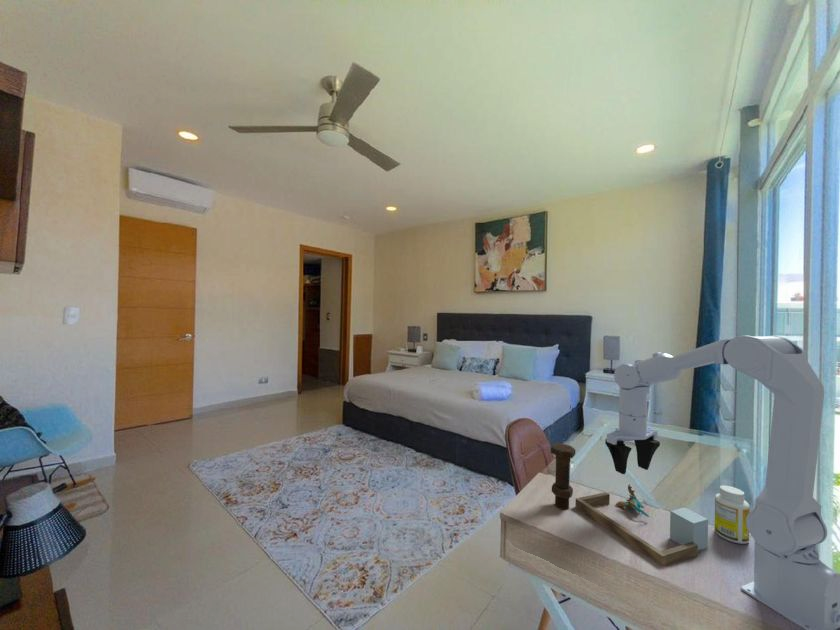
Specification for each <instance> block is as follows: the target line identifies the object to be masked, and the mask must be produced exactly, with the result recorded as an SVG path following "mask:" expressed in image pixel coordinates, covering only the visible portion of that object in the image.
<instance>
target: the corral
mask: <svg viewBox="0 0 840 630" xmlns="http://www.w3.org/2000/svg"><path fill="white" fill-rule="evenodd" d="M607 505H610V493H608V492H607V491H606V492H605V491H604V492H601V493H595V494H592V495H590V494H589V495H586V496H582V497H575V508H576V509H577V510H579V511H580V512H582V513H583V514H585V515H586V516H588V517H589V518H590V519H592V520H593V521H595V522H597V524H599V525H601V526H602V525H603V526H602V527H604V528H606V529H607V530H608V531H610V532H612V533H613V534H614V535H616V536H617V537H619V538H620V539H622V540H623V541H624V542H626V543H628V544H629V545H631V546H632V547H633V548H635V549H637V550H638V551H640V552H641V553H643V554H644V555H646V556H647V557H649V558H650V559H652V560H653V561H654V562H656V563H657V564H659V565H660V566H662V567H664V566H667V565H668V566H669V565H671V564H675V563H677V562H682V561H686V560H689V559H690V560H691V559H693V558H698V555H699V553H698V551H699V550H698V545H697V544H695V543H693V542H690V543H687V544H684V545H681V544H679V545H677V546H675V547H674V546H673V547H672V548H667V549H665V550H659V549H658V548H656V547H654V546H653V545H652V544H650V543H649V542H647V541H645V540H644V539H642V538H641V537H640V536H638V535H636V534H635V533H634V532H632V531H630V530H629V529H627V528H626V527H624V526H623V525H621V523H618V522H617V521H615V520H613V519H612V518H610V517H609V516H607V515H606V514H604V513H603V512H601V511H600V510H598V509H596V508H595V507H600V506H601V507H603V506H607Z"/></svg>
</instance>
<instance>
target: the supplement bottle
mask: <svg viewBox="0 0 840 630" xmlns="http://www.w3.org/2000/svg"><path fill="white" fill-rule="evenodd" d="M745 499H746V498H745V492H744V491H743V490H741V489H740V488H736V487H735V486H732V485H731V486H730V485H720V486H719V493H716V494H715V495H714V531H715V533H716V534H717V535H718V536H719V537H721V538H722V539H724V540H725V541H729V542H731V543H735V544H738V545H744V544H746V545H747V544H748V543H749V542H750V532H749V531H748V528H747V525H746V517H747V515H748V514H749V513H750V510H751V509H750V507H751V506H750V504H749V502H748V501H746V500H745Z"/></svg>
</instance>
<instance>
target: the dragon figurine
mask: <svg viewBox="0 0 840 630" xmlns="http://www.w3.org/2000/svg"><path fill="white" fill-rule="evenodd" d="M627 490H628V492H629V498H628V499H626V500H625V501H624V500H621V501H618V502H616V503H615V506H617V508H620V507H621V508H622V509H623V510H624V508H627V507H628V506H629V507H631V509H633V510H634V511H636V512H638V513H639V514H640V513H641V515H644V516H645V517H647V518H650V516H649V515H648V514H647V512H645V511H644V510H642V509H644V508H645V507H644V505H643V504H642V503H641V502H640V501H639V499H637V496H636V495H635V492H636V491H635V490H633V489H632V486H631V485H630V483H629V484H628V485H627Z"/></svg>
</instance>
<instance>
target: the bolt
mask: <svg viewBox="0 0 840 630" xmlns="http://www.w3.org/2000/svg"><path fill="white" fill-rule="evenodd" d="M550 453H551V454H553V455H555V481H554V482H553V483H552V485H551V492H552V493H553V495H554V505H555V507H556V508H558V509H560V510H563V511H567V510H569V509H570V498H572V496H573V493H574V488H573V487H572V486H571V485H570V478H571V477H570V473H571V472H570V471H571V459H573V458H574V457H575V456H576V449H575V448H574V447H573V446H571V445H569V444H566V443H553V444H552V445H551V447H550Z"/></svg>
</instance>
